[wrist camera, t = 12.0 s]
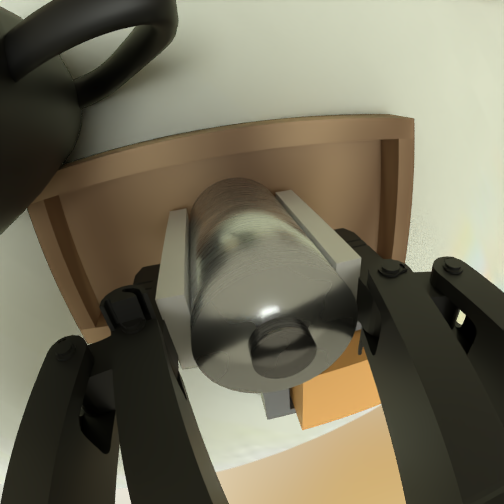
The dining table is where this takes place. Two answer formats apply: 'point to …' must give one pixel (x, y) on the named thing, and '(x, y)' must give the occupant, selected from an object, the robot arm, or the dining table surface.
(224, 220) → the cell
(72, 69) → the dining table surface
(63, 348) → the robot arm
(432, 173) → the dining table surface
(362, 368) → the orange square block
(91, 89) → the mug
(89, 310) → the wooden tray
